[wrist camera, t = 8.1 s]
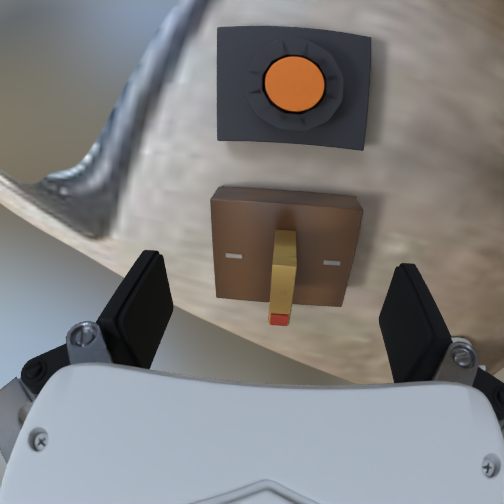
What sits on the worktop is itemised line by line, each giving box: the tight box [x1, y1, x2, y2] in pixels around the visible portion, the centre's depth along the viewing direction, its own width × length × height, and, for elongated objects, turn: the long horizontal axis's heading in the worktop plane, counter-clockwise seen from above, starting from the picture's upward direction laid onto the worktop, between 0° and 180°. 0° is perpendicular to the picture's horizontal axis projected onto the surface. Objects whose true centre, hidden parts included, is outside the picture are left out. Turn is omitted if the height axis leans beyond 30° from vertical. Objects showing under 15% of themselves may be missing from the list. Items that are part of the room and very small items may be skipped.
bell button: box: [265, 57, 324, 111], centre depth 16 cm, size 4×4×2 cm
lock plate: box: [210, 187, 363, 307], centre depth 26 cm, size 12×10×3 cm
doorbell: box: [217, 26, 371, 151], centre depth 18 cm, size 11×9×4 cm
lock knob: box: [268, 230, 297, 326], centre depth 23 cm, size 6×2×5 cm, turn 179°
